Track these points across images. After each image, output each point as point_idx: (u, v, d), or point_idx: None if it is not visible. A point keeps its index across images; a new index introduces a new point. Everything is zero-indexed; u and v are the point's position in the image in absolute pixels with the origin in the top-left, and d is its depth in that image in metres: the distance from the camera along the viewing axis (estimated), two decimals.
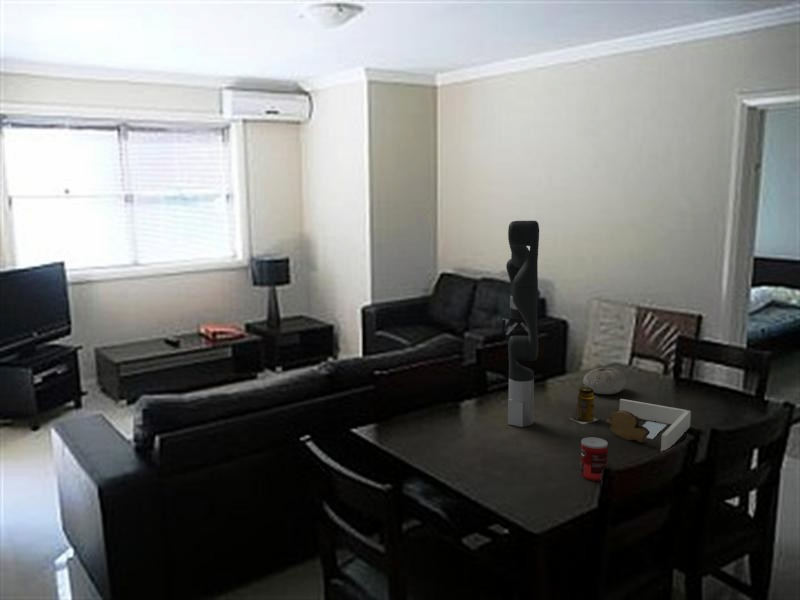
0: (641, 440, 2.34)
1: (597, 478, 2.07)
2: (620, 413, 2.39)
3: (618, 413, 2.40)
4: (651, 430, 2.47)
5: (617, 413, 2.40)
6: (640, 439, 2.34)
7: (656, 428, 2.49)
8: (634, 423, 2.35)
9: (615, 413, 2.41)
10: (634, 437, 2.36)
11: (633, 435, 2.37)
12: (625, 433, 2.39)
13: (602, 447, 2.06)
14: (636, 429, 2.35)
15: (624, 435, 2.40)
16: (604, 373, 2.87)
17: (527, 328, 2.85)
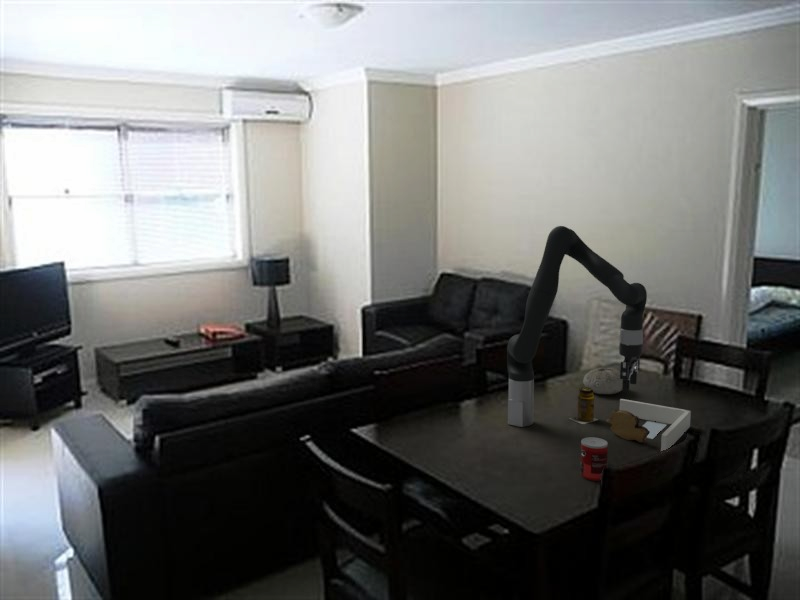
0: (641, 440, 2.34)
1: (597, 478, 2.07)
2: (620, 413, 2.39)
3: (618, 413, 2.40)
4: (651, 430, 2.47)
5: (617, 413, 2.40)
6: (640, 439, 2.34)
7: (656, 428, 2.49)
8: (634, 423, 2.35)
9: (615, 413, 2.41)
10: (634, 437, 2.36)
11: (633, 435, 2.37)
12: (625, 433, 2.39)
13: (602, 447, 2.06)
14: (636, 429, 2.35)
15: (624, 435, 2.40)
16: (604, 373, 2.87)
17: None
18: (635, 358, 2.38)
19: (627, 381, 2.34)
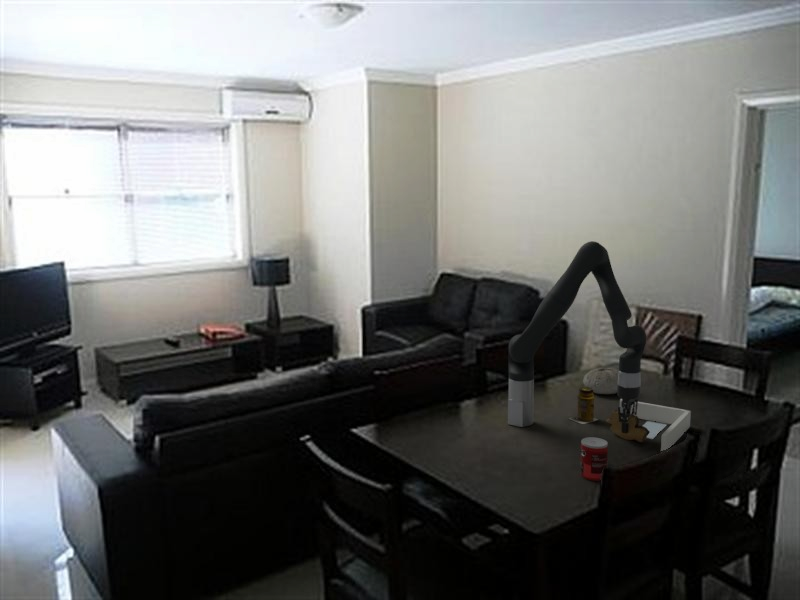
0: (641, 440, 2.34)
1: (597, 478, 2.07)
2: None
3: None
4: (651, 430, 2.47)
5: (617, 413, 2.40)
6: (640, 439, 2.34)
7: (656, 428, 2.49)
8: (634, 423, 2.35)
9: (615, 413, 2.41)
10: (634, 437, 2.36)
11: (633, 435, 2.37)
12: None
13: (602, 447, 2.06)
14: (636, 429, 2.35)
15: (624, 435, 2.40)
16: (604, 373, 2.87)
17: None
18: (633, 400, 2.39)
19: (626, 424, 2.37)
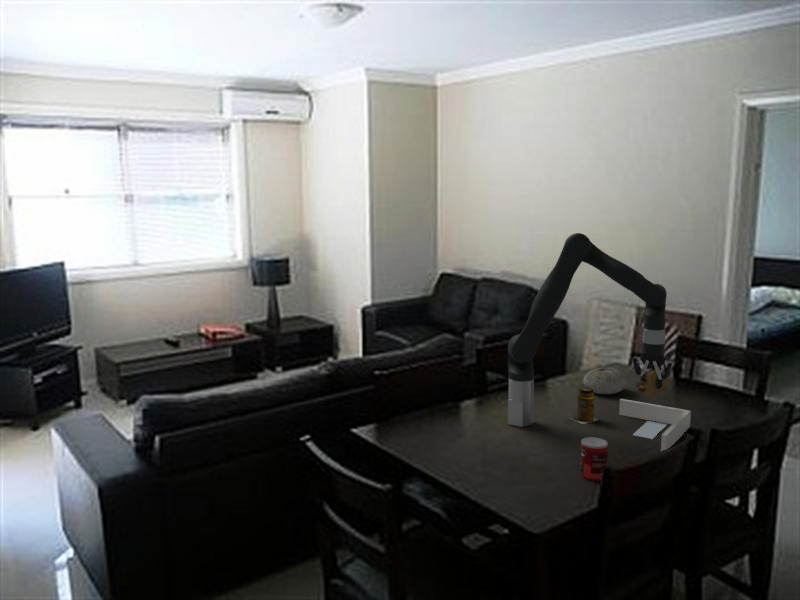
0: (665, 388, 2.48)
1: (597, 478, 2.07)
2: (655, 372, 2.42)
3: (653, 373, 2.41)
4: (651, 430, 2.47)
5: (652, 374, 2.41)
6: (665, 387, 2.48)
7: (656, 428, 2.49)
8: None
9: (650, 375, 2.41)
10: (661, 389, 2.47)
11: None
12: (655, 389, 2.44)
13: (602, 447, 2.06)
14: (664, 380, 2.46)
15: (653, 392, 2.45)
16: (604, 373, 2.87)
17: (658, 370, 2.41)
18: None
19: None
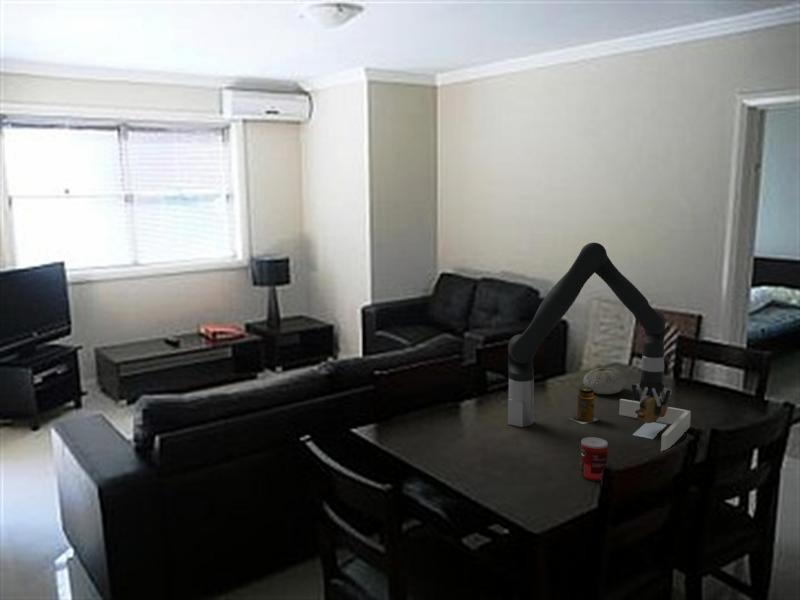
0: (664, 414, 2.50)
1: (597, 478, 2.07)
2: (653, 399, 2.43)
3: (652, 400, 2.43)
4: (651, 430, 2.47)
5: (651, 401, 2.43)
6: (664, 413, 2.50)
7: (656, 428, 2.49)
8: None
9: (649, 402, 2.42)
10: (660, 415, 2.48)
11: None
12: (654, 416, 2.46)
13: (602, 447, 2.06)
14: (662, 406, 2.48)
15: (652, 419, 2.46)
16: (604, 373, 2.87)
17: (657, 397, 2.43)
18: None
19: None
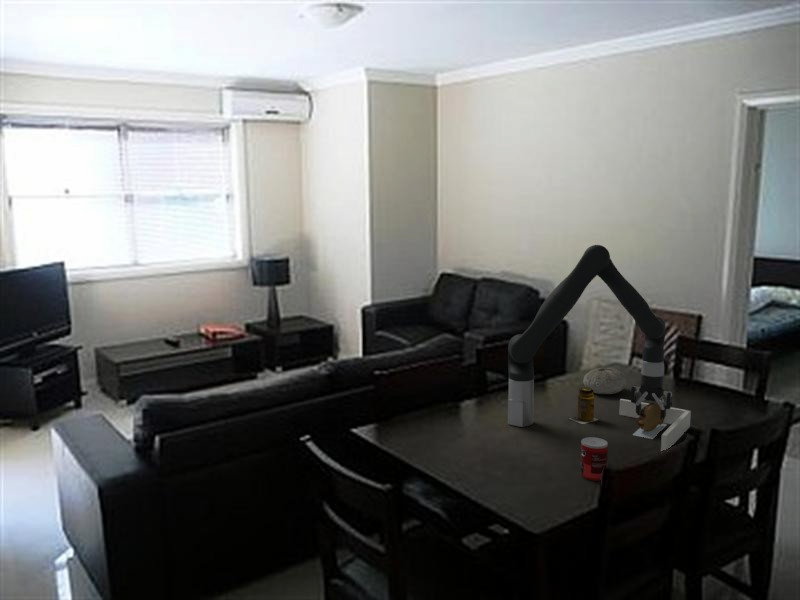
0: (663, 421, 2.51)
1: (597, 478, 2.07)
2: (653, 407, 2.44)
3: (651, 408, 2.44)
4: (651, 430, 2.47)
5: (650, 409, 2.43)
6: (662, 421, 2.51)
7: (656, 428, 2.49)
8: None
9: (649, 410, 2.43)
10: (658, 422, 2.49)
11: (658, 422, 2.49)
12: (653, 424, 2.47)
13: (602, 447, 2.06)
14: None
15: (652, 426, 2.47)
16: (604, 373, 2.87)
17: (659, 401, 2.43)
18: None
19: None
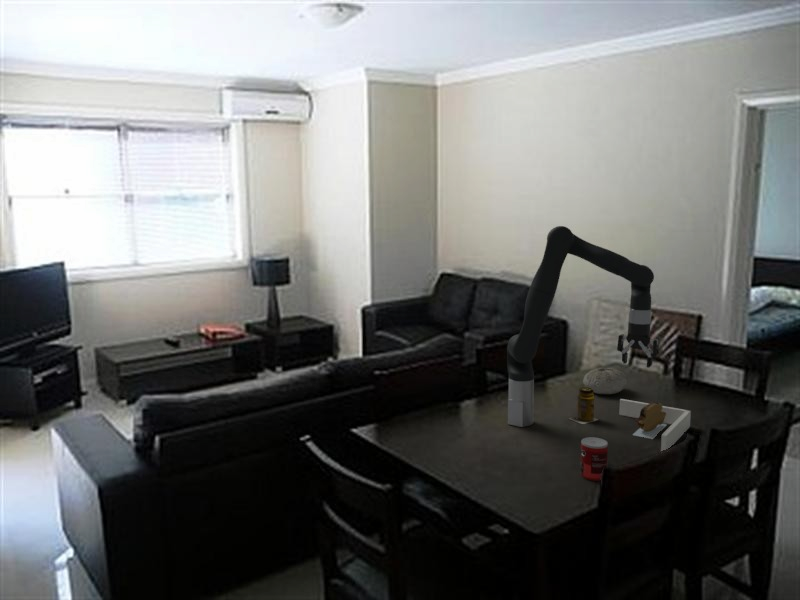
0: (663, 421, 2.51)
1: (597, 478, 2.07)
2: (653, 407, 2.44)
3: (651, 408, 2.44)
4: (651, 430, 2.47)
5: (650, 409, 2.43)
6: (662, 421, 2.51)
7: (656, 428, 2.49)
8: (661, 409, 2.48)
9: (649, 410, 2.43)
10: (658, 422, 2.49)
11: (658, 422, 2.49)
12: (653, 424, 2.47)
13: (602, 447, 2.06)
14: (661, 414, 2.49)
15: (652, 426, 2.47)
16: (604, 373, 2.87)
17: (646, 348, 2.45)
18: None
19: None
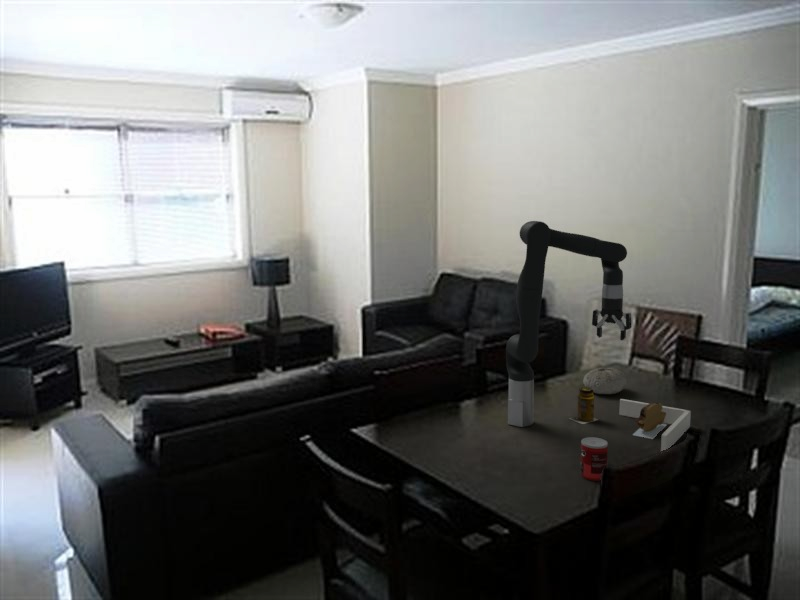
0: (663, 421, 2.51)
1: (597, 478, 2.07)
2: (653, 407, 2.44)
3: (651, 408, 2.44)
4: (651, 430, 2.47)
5: (650, 409, 2.43)
6: (662, 421, 2.51)
7: (656, 428, 2.49)
8: (661, 409, 2.48)
9: (649, 410, 2.43)
10: (658, 422, 2.49)
11: (658, 422, 2.49)
12: (653, 424, 2.47)
13: (602, 447, 2.06)
14: (661, 414, 2.49)
15: (652, 426, 2.47)
16: (604, 373, 2.87)
17: (619, 322, 2.55)
18: None
19: None
